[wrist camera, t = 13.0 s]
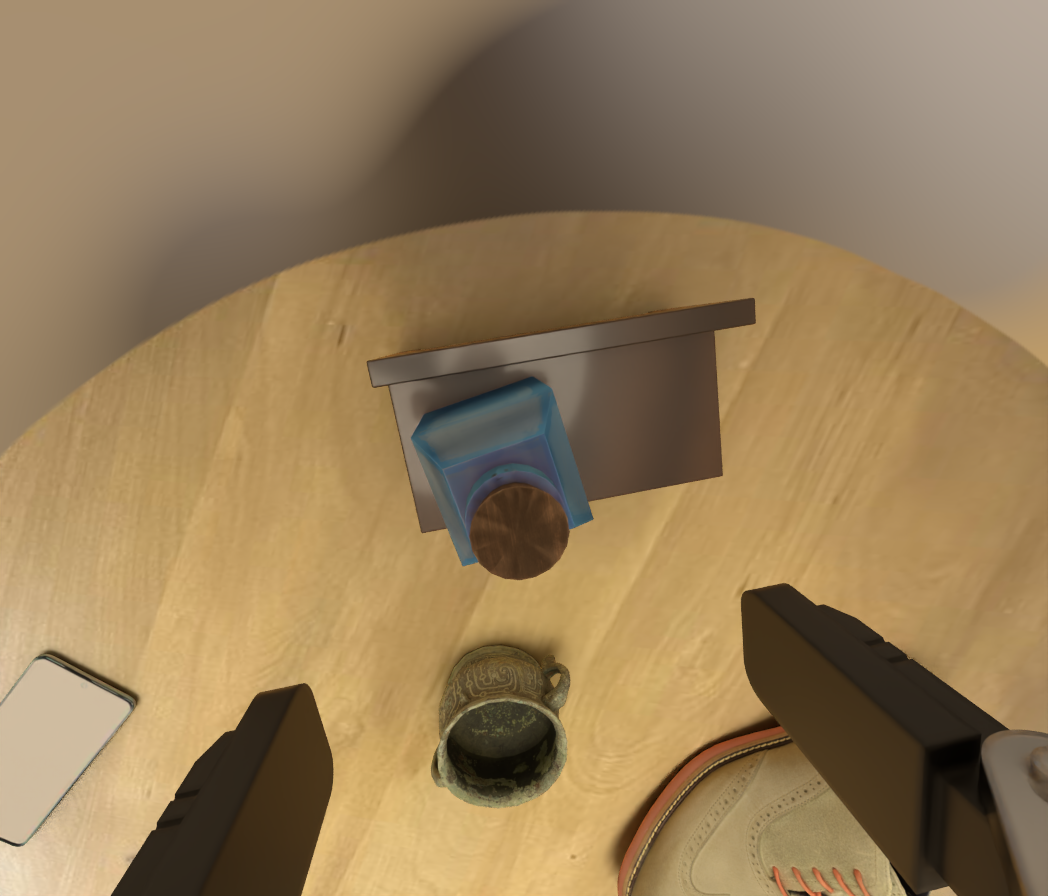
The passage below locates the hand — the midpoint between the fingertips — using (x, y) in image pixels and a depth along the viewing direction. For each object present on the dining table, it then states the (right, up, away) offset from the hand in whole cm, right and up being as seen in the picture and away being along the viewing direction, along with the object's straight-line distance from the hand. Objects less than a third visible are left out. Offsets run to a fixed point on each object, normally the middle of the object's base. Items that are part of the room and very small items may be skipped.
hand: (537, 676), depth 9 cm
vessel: (-2, -14, +29) cm, 32 cm away
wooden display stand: (+1, +7, +24) cm, 25 cm away
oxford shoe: (+20, -23, +33) cm, 45 cm away
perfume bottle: (-2, +4, +18) cm, 19 cm away
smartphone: (-35, -17, +25) cm, 46 cm away
